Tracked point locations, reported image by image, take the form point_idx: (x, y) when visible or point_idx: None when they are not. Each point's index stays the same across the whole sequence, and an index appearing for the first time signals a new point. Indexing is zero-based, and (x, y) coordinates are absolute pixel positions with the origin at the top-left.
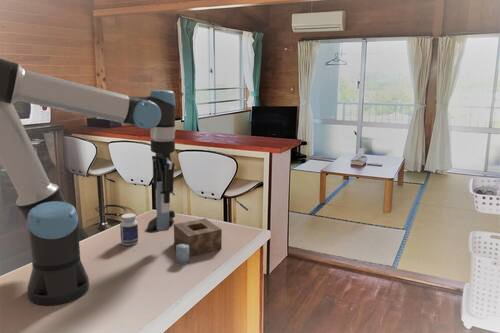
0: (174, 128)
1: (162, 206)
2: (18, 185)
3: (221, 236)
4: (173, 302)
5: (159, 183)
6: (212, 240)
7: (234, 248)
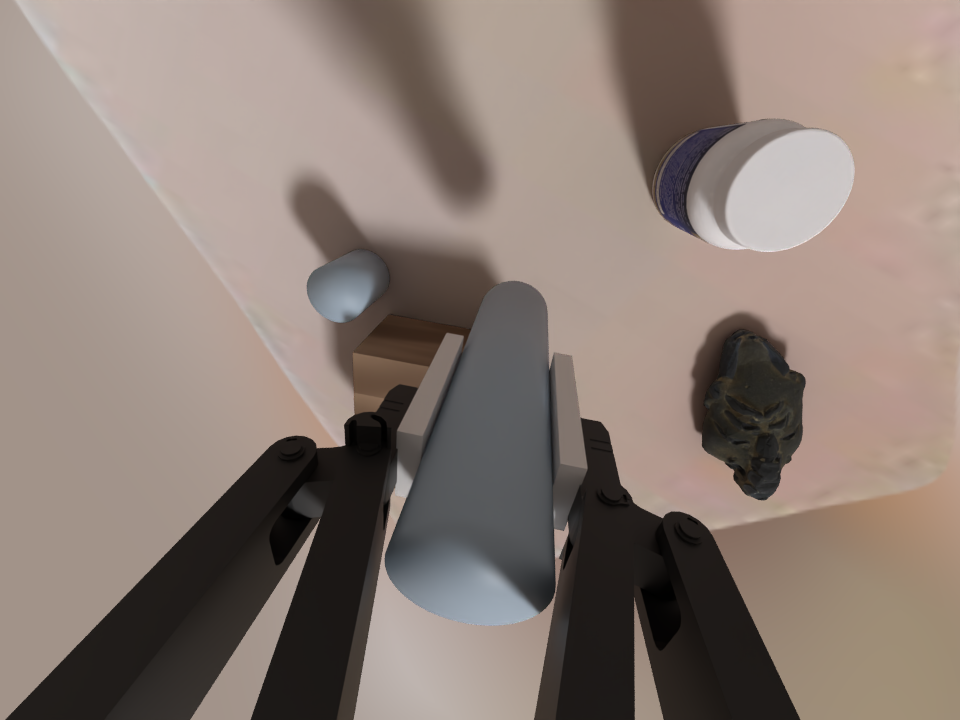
0: None
1: (434, 360)
2: None
3: None
4: (64, 51)
5: (434, 528)
6: None
7: None
